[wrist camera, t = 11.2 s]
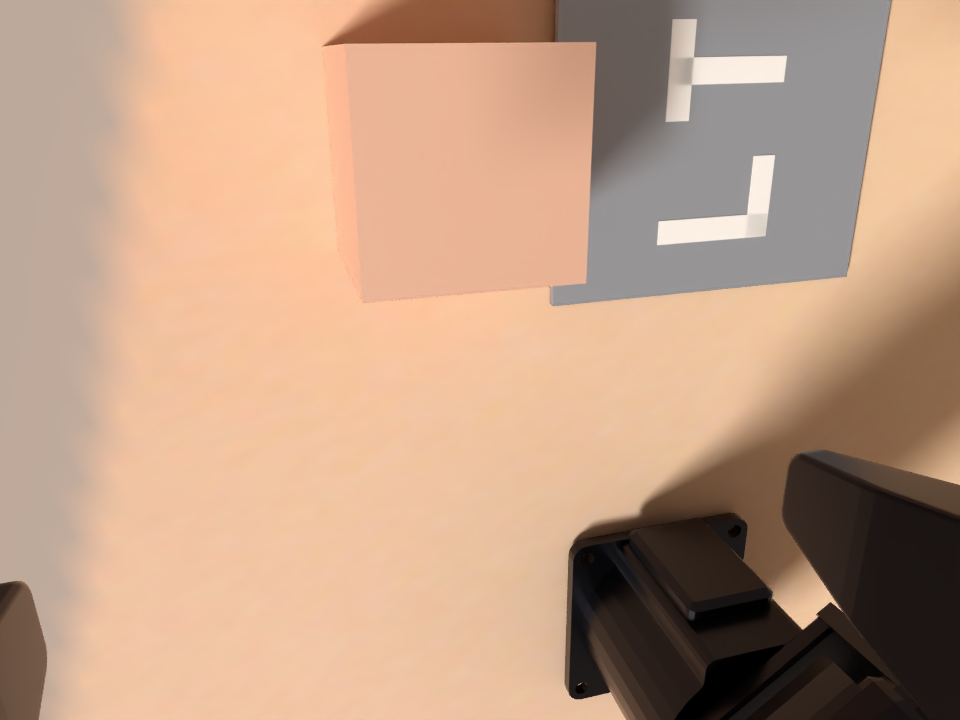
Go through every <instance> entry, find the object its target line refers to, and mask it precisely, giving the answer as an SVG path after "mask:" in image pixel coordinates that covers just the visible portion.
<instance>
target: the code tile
mask: <svg viewBox="0 0 960 720" xmlns="http://www.w3.org/2000/svg"><path fill="white" fill-rule="evenodd" d="M890 4H891V0H556V1H555V42H596V60H595V84H594V108H593V132H592V156H591V180H590V204H589V228H588V252H587V276H586V283H585V284H574V285H562V286H551V287H550V304H551V305H552V306H559V305H569V304H579V303H589V302H599V301H609V300H619V299H629V298H638V297H648V296H658V295H668V294H678V293H688V292H698V291H708V290H718V289H728V288H738V287H748V286H758V285H768V284H778V283H788V282H798V281H808V280H818V279H827V278H837V277H847V270H848V264H849V258H850V252H851V246H852V239H853V233H854V227H855V221H856V215H857V208H858V202H859V196H860V190H861V184H862V177H863V171H864V165H865V159H866V153H867V146H868V140H869V134H870V128H871V122H872V115H873V109H874V103H875V97H876V91H877V84H878V78H879V72H880V66H881V60H882V53H883V47H884V41H885V35H886V29H887V22H888V16H889V10H890Z"/></svg>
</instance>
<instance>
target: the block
mask: <svg viewBox="0 0 960 720" xmlns="http://www.w3.org/2000/svg"><path fill="white" fill-rule="evenodd" d="M322 52H323V65H324V78H325V91H326V104H327V117H328V129H329V142H330V155H331V168H332V181H333V194H334V207H335V219H336V232H337V245H338V252H339V254H340V256H341V258H342V260H343V262H344V264H345V267H346V269H347V271H348V273H349V275H350V277H351V279H352V282H353V284H354V286H355V288H356V290H357V292H358V294H359V297H360V299H361V301H362V303H370V302H382V301H393V300H404V299H416V298H427V297H438V296H449V295H461V294H472V293H483V292H495V291H506V290H517V289H528V288H540V287H551V286H562V285H574V284H585V283H586V276H587V252H588V228H589V204H590V180H591V156H592V132H593V108H594V84H595V60H596V42H532V43H384V44H339V45H331V46H323V47H322Z"/></svg>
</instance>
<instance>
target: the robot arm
mask: <svg viewBox="0 0 960 720" xmlns="http://www.w3.org/2000/svg"><path fill="white" fill-rule="evenodd" d="M782 517H783V521H784V523H785V526H786V528H787V530H788V531H789V533H790V534H791V536H792V537H793V539H794V540H795V542H796V543H797V545H798V546H799V548H800V549H801V551H802V552H803V554H804V555H805V557H806V558H807V559H808V561H809V562H810V564H811V565H812V567H813V568H814V570H815V571H816V573H817V574H818V576H819V577H820V579H821V580H822V582H823V583H824V585H825V586H826V588H827V589H828V591H829V592H830V594H831V595H832V597H833V598H834V600H835V601H836V603H837V604H838V606H839V607H840V608H841V610H842V611H843V612H842V611H841V610H840V609H838V608H837V607H836V606H835V605H833V604H832V603H831V602H830V603H829V604H828V605H827V606H825V607H824V608H823V609H822V610H821V611H819V612H818V613H817V614H816V615H817V616H818V618H817V619H815V620H814V621H813V622H812V623H811V624H809V625H808V626H807V627H806V628H805V629H803V630H802V629H801V627H800V626H799V625H798V624H797V623H796V622H795V621H794V620H793V619H792V618H791V617H790V616H789V615H788V614H787V613H786V612H785V611H784V610H783V609H782V608H781V607H780V606H779V605H778V604H777V603H776V602H775V601H774V600H773V599H772V597H773V592H772V590H771V588H770V587H769V586H768V585H767V584H766V583H765V582H764V581H763V580H762V579H761V578H760V577H759V576H758V575H757V574H756V573H755V572H754V571H753V570H752V569H751V568H750V567H749V566H748V565H747V564H746V563H745V562H744V561H743V558H744V550H745V542H746V535H747V524H746V522H745V521H744V520H743V519H742V518H741V517H740V516H739V515H737V514H735V513H727V514H721V515H716V516H710V517H704V518H695V519H690V520H684V521H678V522H673V523H667V524H662V525H656V526H651V527H645V528H639V529H636V530H632V531H626V532H621V533H615V534H610V535H604V536H599V537H593V538H587V539H583V540H580V541H577V542H576V543H575V544H573V546H572V547H571V549H570V551H569V560H568V592H567V624H566V656H565V687H566V689H567V691H568V693H569V695H570V696H571V697H572V698H574V699H584V698H588V697H592V696H597V695H601V694H605V693H609V692H611V694H612V696H613V697H614V699H615V701H616V703H617V704H618V706H619V708H620V710H621V711H622V713H623V715H624V717H625V718H626V720H960V485H958V484H954V483H950V482H946V481H942V480H938V479H935V478H931V477H927V476H923V475H919V474H915V473H912V472H908V471H904V470H900V469H896V468H892V467H889V466H885V465H881V464H877V463H873V462H869V461H866V460H862V459H858V458H854V457H850V456H846V455H843V454H839V453H835V452H831V451H827V450H815V451H809V452H803V453H798V454H796V455H794V456H793V457H792V458H791V460H790V462H789V464H788V469H787V476H786V483H785V490H784V496H783V503H782ZM732 526H734V527H733V528H732V529H731V530H730V531H729V529H730V528H731V527H732ZM587 552H589V554H588V555H587V556H586V557H585V558H581V556H582V555H583V554H585V553H587ZM46 669H47V650H46V644H45V640H44V636H43V633H42V629H41V625H40V622H39V618H38V614H37V611H36V607H35V604H34V600H33V596H32V593H31V590H30V589H29V587H28V586H27V584H25V583H24V582H22V581H14V582H7V583H2V584H0V720H39V714H40V708H41V701H42V695H43V688H44V682H45V676H46ZM580 683H582V684H580ZM578 684H580V685H578ZM577 685H578V686H577Z"/></svg>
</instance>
